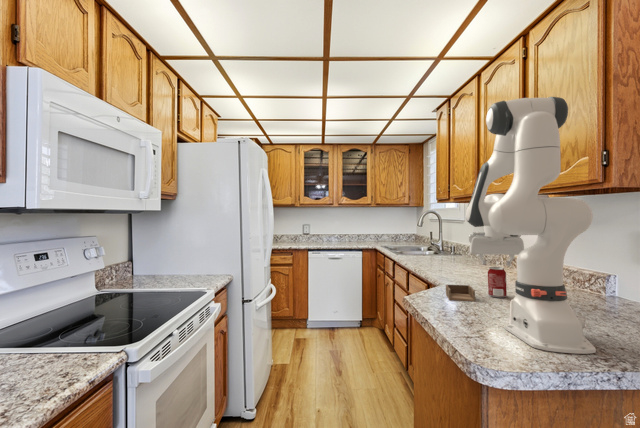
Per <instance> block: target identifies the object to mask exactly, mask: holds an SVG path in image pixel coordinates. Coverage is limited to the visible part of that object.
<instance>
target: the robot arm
mask: <svg viewBox="0 0 640 428" xmlns="http://www.w3.org/2000/svg"><path fill="white" fill-rule="evenodd" d="M568 115H569V105H568V103H567V102H566V100H565V99H564V98H562V97H557V96H549V97H522V98H515V99H509V100H500V101H496V102H494V103H492V104H491V106H489V108H488V110H487V113H486V116H485V124H486V126H487V127H486V128H487V131H488V132H490V133H491V134H492V135H495V139H494V143H493V149H492V150H493V151H492V154H491V156H490V158H489V159H488V160H487V161H486V162H484V163H482V165H481V167H480V169H479V171H478V174H477V177H476V181H475V184H474V187H473V189H472V190H473V191H472V193H471V194H472V195H471V197H470V200H469V203H468V205H467V208H466V211H465V218H466V222H467V223H468V224H469V225H471V226H472V227H474V228H479V227H483V231H481V232H479V231H478V232H476V231H475V232H472V233H470V234H469V236H468V242H469V247H468V248H469V253H470V254H471V255H478V258H479V259H480V261H481V266H487V260H484V259H483V258H484V255H502V256H503V255H504V256H505V255H507V256H508V257H509V258H508V260H506V261H505V263H506V264H505V265H506V266H512V262H513V260H514V259H515V255H516V280H515V282H514V283H515V284H514V288H515V290H514V291H515V294H516V295H515V296H514V297H513V298H512V299H511V300H510V305H509V323H505V324H504V325H503V327H504V328H503V329H505V330H506V331H508V332H509V333H510V334H512V335H513V336H515V337H517V338H518V339H520V340H521V341H522V342H524V343H526V344H527V345H528V346H531V347H532V348H534V349H539V350H543V351H547V352H548V351H549V352H555V353H565V354H580V355H581V354H583V355H586V354H587V355H588V354H595V353H597V349H596V347H595V346H594V345H593V344H592V343H591V342H590V341H589V340H588V339H587V338H586V337H585V335H584V333H583V329H584V328H585V327H586V322H585V319H583V318H578V316H577V313H576V310H573V308H572V307H571V305H570V304H569V302H568V299H569V298H568V294H567V289H566V286H565V284H564V260H565V256H566V252H567V250H568V249H569V247H570V245H571V244H572V242H573V241H574V240H575V239H576V238H577V237H578V236H580V235H582V234H583V233H585V232H586V231H587V230H588V229H589V228H590V226H591V224H592V222H593V220H594V217H593V216H594V214H593V210H592V209H591V206H590V205H589V203H587V202H586V201H585V200H583V199H579V198H573V197H564V196H563V197H562V196H561V197H559V196H558V197H556V196H555V197H538V195H539V192H540V190H541V189H542V188H543V187H545V186H547V185H549V184H551V183H553V182H555V181H556V180H557V179H558V178H559V176H560V174H561V172H562V171H561V170H562V169H561V164H562V163H561V161H562V160H561V137H560V135H561V134H560V131H559V129H560V128H562V127H563V126H564V125H565V124H566V121H567V119H568ZM511 174H513V177H512V181H511V184H510V186H509V187H508V189H507V190H506V192H505V193H501V192H499V193H491V194H487V192H488V190H489V189H488V188H489V186H490V185H491V184H492V183H493V182H494V181H497V180H498V179H500V178H502V177H505V176H509V175H511ZM521 236H537V238H536V241H535V243H533V245H531V246H530V247H526V248H525V244H524V240H523V238H522V237H521Z"/></svg>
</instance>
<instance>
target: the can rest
mask: <svg viewBox="0 0 640 428" xmlns="http://www.w3.org/2000/svg"><path fill="white" fill-rule="evenodd" d="M445 296H446V297H447V298H448V301H456V302H457V301H459V302H476V290H475V289H474V288H473V287H472V286H471V285H469V284H467V285H466V284H464V285H463V284H445Z"/></svg>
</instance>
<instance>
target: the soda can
mask: <svg viewBox="0 0 640 428" xmlns="http://www.w3.org/2000/svg"><path fill="white" fill-rule="evenodd" d="M487 294H488V296H490V297H492V298H495V299H496V298H497V299H503V298H505V297H507V294H508V293H507V271H506V270H505V267H502V266H501V267H500V266H490V267H489V269H488V270H487Z"/></svg>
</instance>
